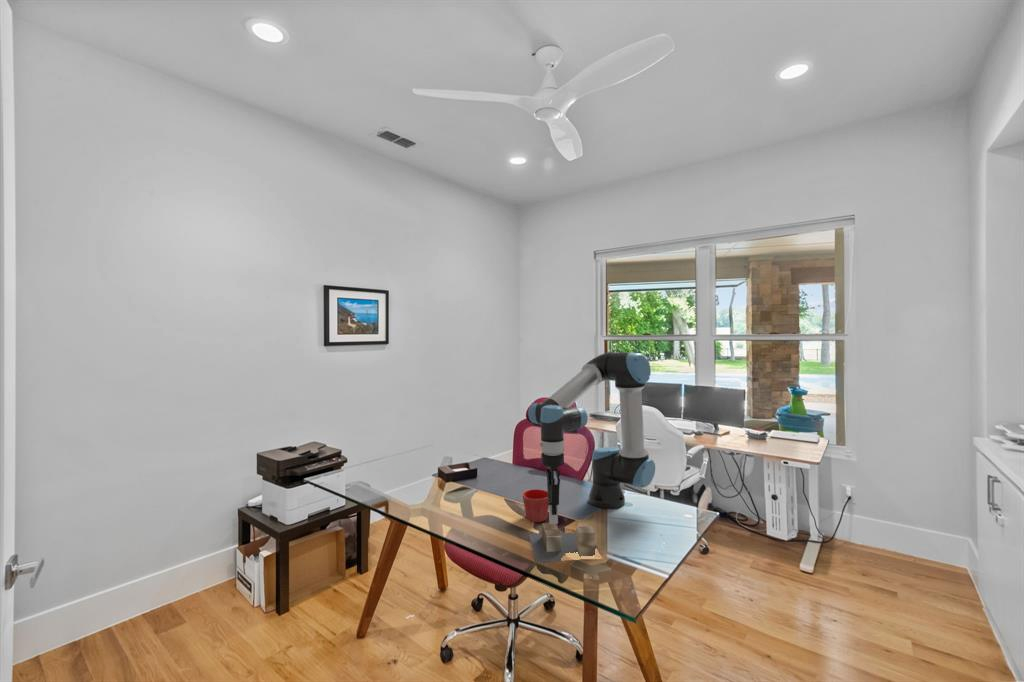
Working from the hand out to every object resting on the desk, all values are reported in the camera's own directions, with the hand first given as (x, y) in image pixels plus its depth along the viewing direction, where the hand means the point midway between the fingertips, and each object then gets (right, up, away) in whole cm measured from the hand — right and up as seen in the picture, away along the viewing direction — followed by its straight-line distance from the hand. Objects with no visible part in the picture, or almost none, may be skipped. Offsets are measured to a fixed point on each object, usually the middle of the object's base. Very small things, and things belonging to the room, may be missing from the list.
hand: (553, 522), depth 152 cm
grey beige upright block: (+10, -9, -2) cm, 14 cm away
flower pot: (-4, -10, +28) cm, 30 cm away
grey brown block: (0, -7, 0) cm, 7 cm away
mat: (+4, -10, +4) cm, 11 cm away
